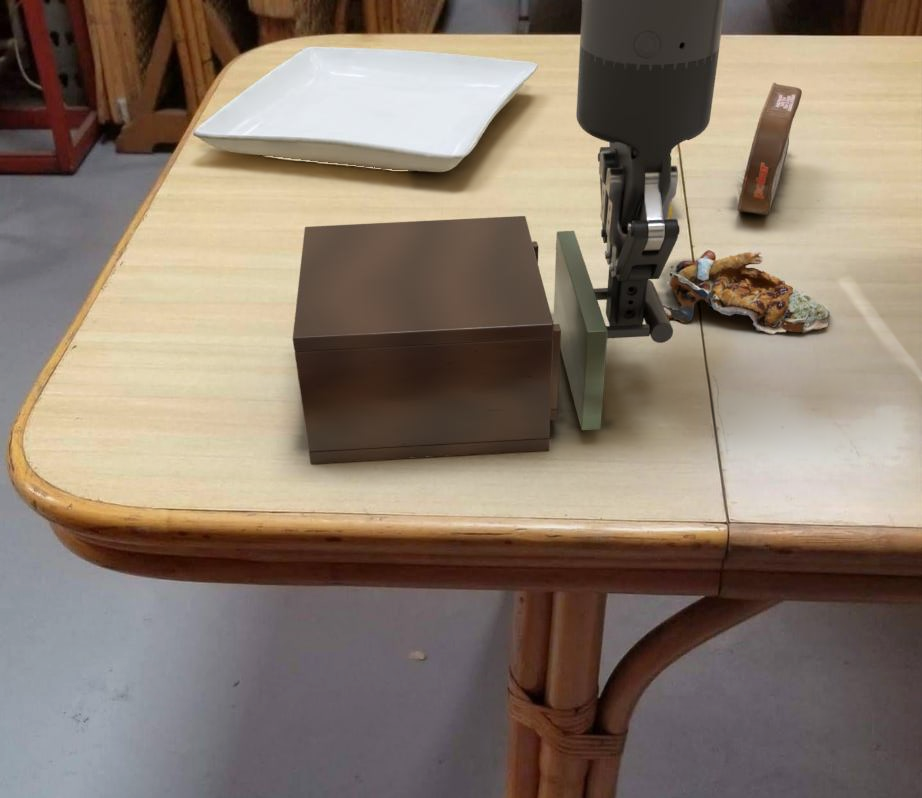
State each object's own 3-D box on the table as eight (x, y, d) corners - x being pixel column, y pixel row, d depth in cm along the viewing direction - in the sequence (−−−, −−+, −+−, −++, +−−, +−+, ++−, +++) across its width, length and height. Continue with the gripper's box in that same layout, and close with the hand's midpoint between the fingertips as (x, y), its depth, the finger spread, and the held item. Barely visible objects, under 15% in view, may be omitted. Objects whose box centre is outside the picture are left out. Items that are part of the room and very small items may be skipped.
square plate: (309, 77, 122) (304, 41, 120) (540, 96, 116) (541, 58, 113) (194, 165, 103) (186, 124, 100) (464, 194, 96) (463, 151, 94)
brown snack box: (756, 162, 100) (771, 68, 95) (790, 166, 99) (808, 71, 94) (731, 228, 90) (747, 126, 84) (770, 233, 89) (788, 130, 83)
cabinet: (523, 331, 77) (525, 215, 72) (549, 450, 66) (553, 324, 61) (319, 342, 77) (304, 226, 71) (310, 464, 66) (292, 338, 60)
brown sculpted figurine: (824, 343, 75) (834, 297, 73) (654, 319, 78) (659, 274, 76) (832, 297, 80) (842, 252, 78) (672, 276, 83) (677, 233, 81)
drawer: (637, 318, 77) (646, 226, 72) (678, 425, 66) (692, 326, 62) (380, 331, 76) (372, 240, 72) (381, 441, 66) (372, 343, 61)
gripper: (750, 73, 53) (704, 374, 64) (691, 2, 63) (660, 274, 74) (600, 78, 53) (581, 380, 64) (564, 7, 63) (553, 279, 74)
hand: (623, 323), depth 69 cm, fingers closed
